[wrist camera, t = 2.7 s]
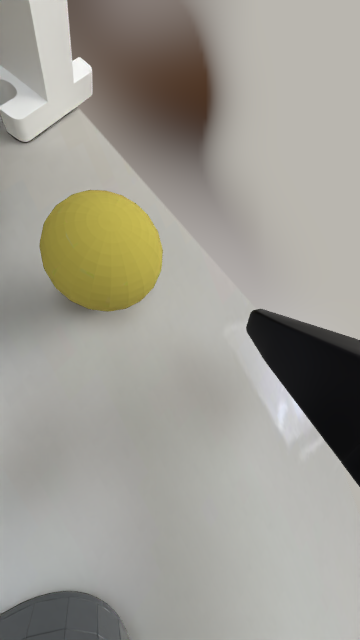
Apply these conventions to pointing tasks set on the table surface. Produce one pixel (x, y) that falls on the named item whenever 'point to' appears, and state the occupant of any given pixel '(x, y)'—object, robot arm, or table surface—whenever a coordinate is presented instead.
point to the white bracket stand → (38, 67)
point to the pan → (62, 619)
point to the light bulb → (101, 250)
